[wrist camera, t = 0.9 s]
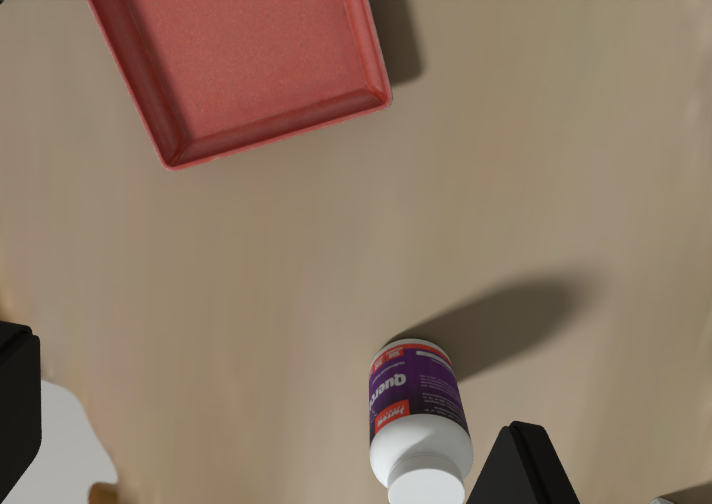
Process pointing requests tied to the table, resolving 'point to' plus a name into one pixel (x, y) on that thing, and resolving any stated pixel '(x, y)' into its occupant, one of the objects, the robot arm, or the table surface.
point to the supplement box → (660, 501)
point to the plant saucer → (242, 70)
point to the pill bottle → (418, 425)
